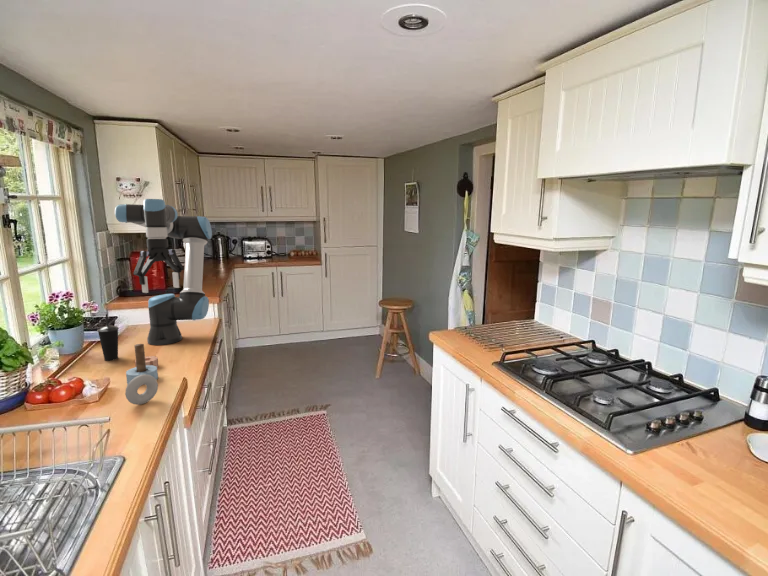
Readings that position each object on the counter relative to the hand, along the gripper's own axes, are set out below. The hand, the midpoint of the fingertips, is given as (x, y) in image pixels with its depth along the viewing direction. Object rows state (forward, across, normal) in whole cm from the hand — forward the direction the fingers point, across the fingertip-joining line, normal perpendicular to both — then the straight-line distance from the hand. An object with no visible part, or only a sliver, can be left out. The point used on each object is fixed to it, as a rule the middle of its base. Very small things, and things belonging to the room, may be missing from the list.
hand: (161, 290), depth 163 cm
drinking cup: (+32, +8, -26) cm, 42 cm away
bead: (+32, +7, -3) cm, 33 cm away
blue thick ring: (+32, +16, +8) cm, 36 cm away
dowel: (+32, +16, +8) cm, 36 cm away
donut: (+32, +28, +27) cm, 50 cm away
